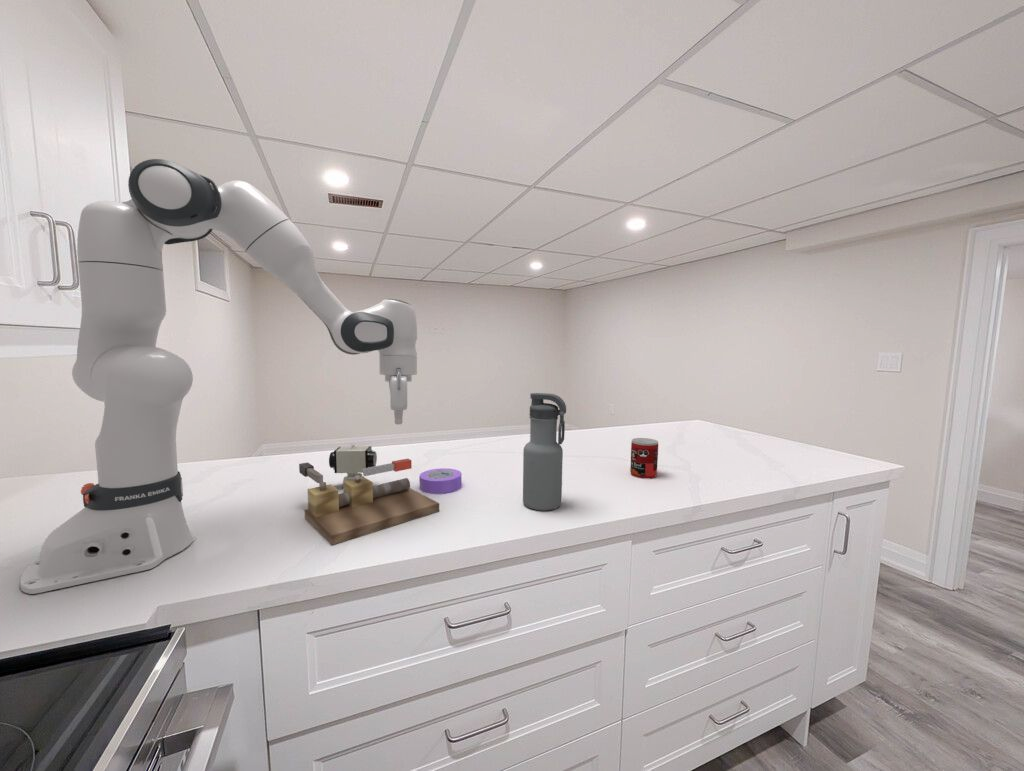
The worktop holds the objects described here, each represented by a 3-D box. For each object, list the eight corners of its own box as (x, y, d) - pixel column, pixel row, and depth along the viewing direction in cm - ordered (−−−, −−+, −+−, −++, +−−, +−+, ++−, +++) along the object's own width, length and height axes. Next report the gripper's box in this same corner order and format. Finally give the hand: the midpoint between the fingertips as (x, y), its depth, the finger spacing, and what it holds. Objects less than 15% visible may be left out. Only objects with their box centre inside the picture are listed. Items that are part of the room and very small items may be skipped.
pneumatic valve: (373, 489, 113) (372, 446, 112) (329, 490, 112) (328, 447, 110) (378, 482, 118) (377, 441, 117) (336, 483, 117) (334, 442, 116)
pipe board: (332, 545, 81) (330, 495, 80) (291, 505, 101) (290, 465, 100) (439, 511, 98) (439, 470, 97) (387, 482, 118) (386, 448, 117)
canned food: (625, 472, 130) (626, 438, 129) (646, 470, 133) (648, 437, 132) (639, 480, 123) (641, 444, 122) (662, 477, 125) (663, 442, 124)
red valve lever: (411, 470, 106) (411, 460, 106) (356, 482, 97) (356, 470, 96) (407, 468, 107) (407, 458, 107) (353, 480, 98) (353, 468, 98)
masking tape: (412, 486, 116) (411, 473, 116) (447, 477, 124) (447, 465, 123) (433, 498, 107) (433, 483, 107) (469, 488, 115) (469, 474, 115)
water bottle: (565, 499, 107) (568, 392, 104) (559, 514, 97) (562, 397, 95) (527, 495, 110) (529, 391, 107) (518, 509, 100) (520, 395, 97)
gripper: (413, 369, 91) (413, 431, 92) (410, 366, 111) (410, 416, 112) (383, 369, 89) (384, 431, 90) (385, 365, 109) (385, 417, 110)
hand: (398, 423), depth 101 cm, fingers closed
